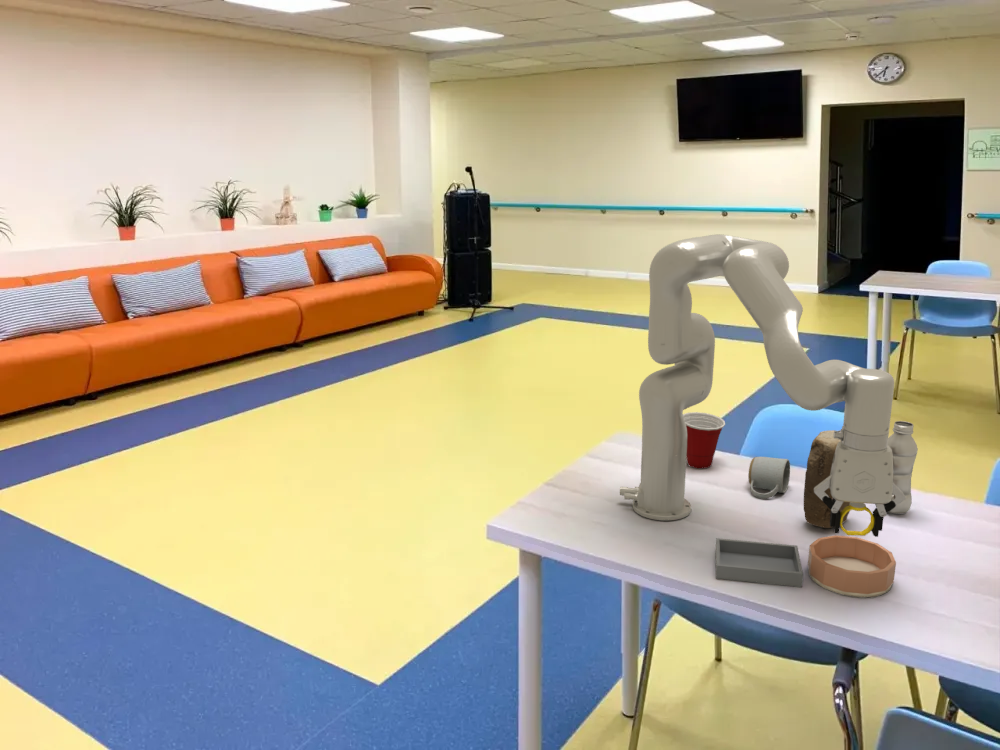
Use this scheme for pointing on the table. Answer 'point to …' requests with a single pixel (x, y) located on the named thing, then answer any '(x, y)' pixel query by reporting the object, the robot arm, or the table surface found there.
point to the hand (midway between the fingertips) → (855, 531)
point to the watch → (857, 508)
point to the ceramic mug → (769, 475)
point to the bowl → (851, 566)
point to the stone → (820, 479)
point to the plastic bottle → (903, 462)
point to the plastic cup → (702, 438)
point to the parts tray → (758, 562)
